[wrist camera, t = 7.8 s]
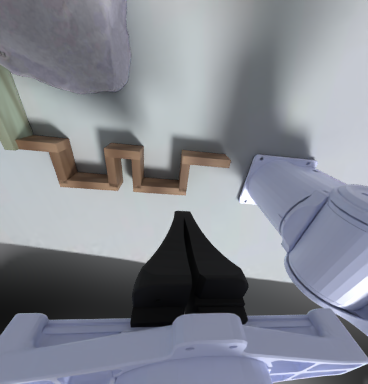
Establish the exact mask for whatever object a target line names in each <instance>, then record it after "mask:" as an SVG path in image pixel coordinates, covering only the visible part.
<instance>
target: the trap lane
mask: <svg viewBox="0 0 368 384" xmlns="http://www.w3.org/2000/svg"><path fill="white" fill-rule="evenodd" d="M0 141H1V143H2V145H3V147H4V149H5V150H18V149H23V150H34V151H45V152H49V154H50V157H51V160H52V163H53V166H54V169H55V172H56V175H57V178H58V181H59V184H60V187H70V188H85V189H100V190H114V191H118V190H119V188H120V186H121V185H122V183H123V175H122V165H121V158H123V159H131V160H132V177H133V192H143V193H158V194H173V195H186V189H187V182H188V175H189V168H190V165H200V166H212V167H223V168H229V166H230V163H231V160H230V159H229V158H228V157H227V155H226V154H218V153H208V152H198V151H188V150H182V154H181V163H180V172H179V180H170V179H158V178H145V177H144V146H138V145H128V144H118V143H110V144H109V145H108V146H106V147H105V148H104V154H105V161H106V168H107V174H108V175H107V174H94V173H81V172H77V168H76V164H75V160H74V156H73V152H72V149H71V145H70V141H69V139H67V138H57V137H47V136H37V135H33V133H32V130H31V127H30V125H29V122H28V119H27V116H26V114H25V111H24V108H23V105H22V103H21V100H20V97H19V94H18V92H17V89H16V86H15V84H14V81H13V78H12V75H11V73H10V71H9V70H8V69H6V68H5V67H3V66H2V65H0Z"/></svg>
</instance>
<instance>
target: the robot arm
mask: <svg viewBox="0 0 368 384" xmlns="http://www.w3.org/2000/svg"><path fill="white" fill-rule="evenodd" d="M261 157H262V159H261V160H260V158H261ZM307 162H308V163H307ZM306 163H307V164H306ZM317 164H318V162H317V161H316V160H308V159H299V158H289V157H279V156H269V155H259V154H257V155H255V156H254V158H253V161H252V164H251V167H250V170H249V172H248V175H247V178H246V181H245V184H244V186H243V189H242V192H241V195H240V198H239V202H240V203H244V204H257V206H258V207H259V208H260V209H261V211H262V212H263V213H264V215H265V216H266V217H267V218H268V220H269V221H270V222H271V224H272V225H273V226H274V227H275V229H276V230H277V231H278V233H279V234H280V235H281V236H282V238H283V241H282V243H281V245H282V246H283V248H284V249H285V250H286V252H287V255H286V256H285V259H284V265H285V269H286V271H287V273H288V275H289V277H290V278H291V280H292V281H293V283H294V284H295V285H296V286H297V287H298V288H299V290H300V291H301V292H302V293H304V294H305V295H306V296H307V297H308V298H309V299H311V300H312V301H314V302H315V303H316V304H318V305H320V306H321V307H323V308H325V309H313V310H311V311H309V312H308V313H307V315H269V316H247V315H246V312H245V309H244V305H245V303H244V300H243V296H244V295H245V293H246V291H247V289H248V283H247V280H246V278H245V275H244V274H243V272H242V270H241V268H239V267H238V266H236V265H235V264H234V263H232V262H231V261H230V260H228V259H227V258H226V257H225V256H224V255H222V254H221V253H220V252H219V251H218V250H217V249H216V248H215V247H214V246H213V245H212V244H211V243H210V241H209V240H208V239H207V238H206V237H205V235H204V234H203V233H202V231H201V230H200V228H199V227H198V225H197V223H196V222H195V220H194V218H193V216H192V214H191V212H188V211H175V214H174V219H173V222H172V225H171V227H170V230H169V232H168V234H167V236H166V237H165V239H164V241H163V242H162V244H161V245H160V247H159V248H158V250H157V251H156V252H155V253H154V255H153V256H152V257H151V258H150V260H149V261H148V262H147V263H146V264H145V265H144V266H143V267H142V269H141V271H140V272H139V274H138V277H137V279H136V282H135V284H134V289H133V293H132V300H133V311H132V316H131V318H128V319H127V318H125V319H79V320H78V319H77V320H48V318H47V316H46V315H45V314H41V313H19V314H16V315H15V316H14V318H13V319H12V321H11V322H10V323H9V325H8V326H7V327H6V329H5V330H4V331H3V333H2V334H1V336H0V384H273V382H280V381H288V380H295V379H302V378H310V377H318V376H328V375H340V374H344V373H346V372H349V371H351V370H353V369H356V368H359V367H361V366H363V365H366V364H368V357H367V356H366V355H365V353H364V352H363V351H362V349H361V348H360V347H359V346H358V344H357V343H356V341H355V340H354V339H353V338H352V336H351V335H350V333H349V332H348V331H347V330H346V328H345V327H344V325H343V324H342V323H341V322H340V320H339V319H338V317H337V316H336V315H335V314H337V315H339V316H341V317H343V318H344V319H346V320H347V321H349V322H350V323H352V324H353V325H354V326H356V327H357V328H358V329H360V330H361V331H362V332H363V333H365V334H366V335H367V336H368V186H363V185H354V184H351V185H348V184H346V183H344V182H342V181H340V180H337V179H335V178H333V177H331V176H329V175H327V174H325V173H323V172H321V171H319V170H317V169H315V168H316V166H317ZM244 200H246V201H244ZM184 311H185V315H184Z"/></svg>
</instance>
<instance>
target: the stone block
mask: <svg viewBox="0 0 368 384" xmlns="http://www.w3.org/2000/svg"><path fill="white" fill-rule="evenodd" d="M126 9H127V2H126V0H0V65H2V66H3V67H5V68H6V69H8V70H9V71H10V72H12V73H13V74H16V75H19V76H24V77H31V78H34V79H37V80H38V81H40V82H43V83H46V84H48V85H50V86H53V87H56V88H59V89H63V90H66V91H71V92H74V93H78V94H87V93H98V92H102V91H111V92H116V91H119V90H121V89H122V88H123V87H124V85H125V84H126V83H127V82H128V77H129V68H130V63H131V51H130V45H129V34H128V31H127V28H126V15H127V11H126Z"/></svg>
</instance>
